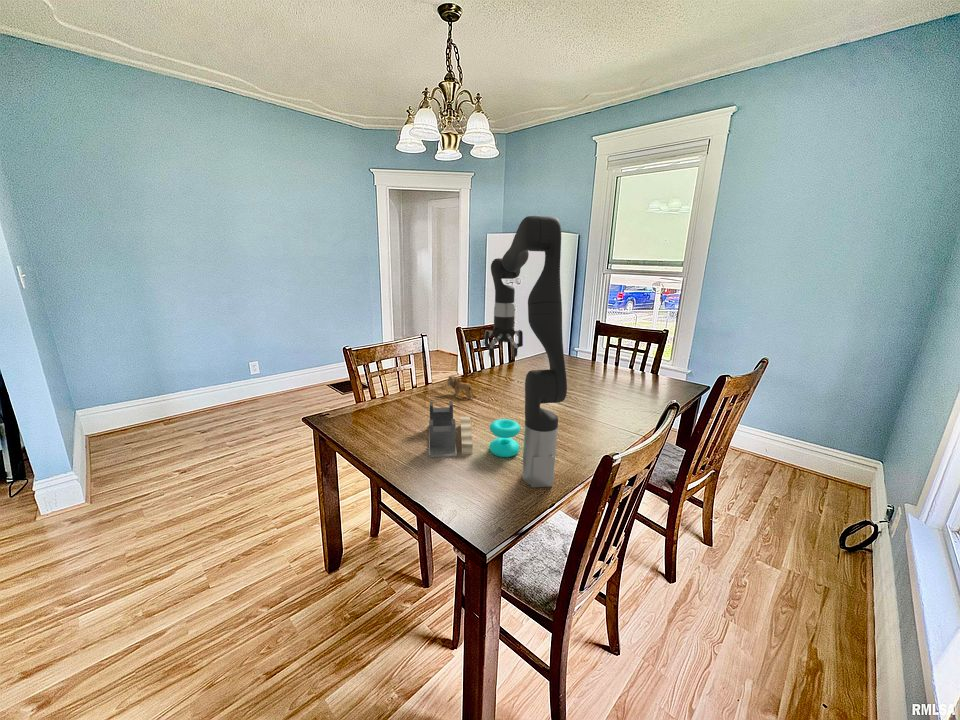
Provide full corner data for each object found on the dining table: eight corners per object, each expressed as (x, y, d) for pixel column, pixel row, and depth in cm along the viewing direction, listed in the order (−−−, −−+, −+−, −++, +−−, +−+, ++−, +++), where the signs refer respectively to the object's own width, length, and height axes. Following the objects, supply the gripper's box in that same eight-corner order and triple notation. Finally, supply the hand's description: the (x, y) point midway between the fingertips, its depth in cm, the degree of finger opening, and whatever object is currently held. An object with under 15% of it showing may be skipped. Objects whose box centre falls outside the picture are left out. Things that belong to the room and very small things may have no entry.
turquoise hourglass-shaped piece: (513, 416, 131) (525, 428, 122) (512, 442, 134) (523, 456, 125) (486, 419, 129) (495, 432, 119) (485, 446, 131) (494, 460, 122)
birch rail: (472, 455, 126) (472, 444, 125) (461, 455, 126) (461, 444, 124) (469, 426, 147) (469, 416, 146) (460, 426, 147) (460, 416, 146)
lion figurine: (445, 395, 178) (445, 376, 176) (450, 391, 183) (450, 373, 180) (473, 400, 172) (474, 381, 170) (478, 396, 177) (479, 378, 174)
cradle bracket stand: (456, 456, 124) (456, 426, 121) (428, 457, 123) (428, 427, 120) (453, 424, 147) (452, 399, 144) (429, 425, 146) (428, 399, 143)
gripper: (486, 316, 136) (485, 360, 140) (525, 316, 137) (523, 359, 141) (483, 313, 143) (483, 355, 147) (521, 313, 144) (519, 355, 148)
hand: (503, 357), depth 144 cm, fingers open, 8 cm apart
